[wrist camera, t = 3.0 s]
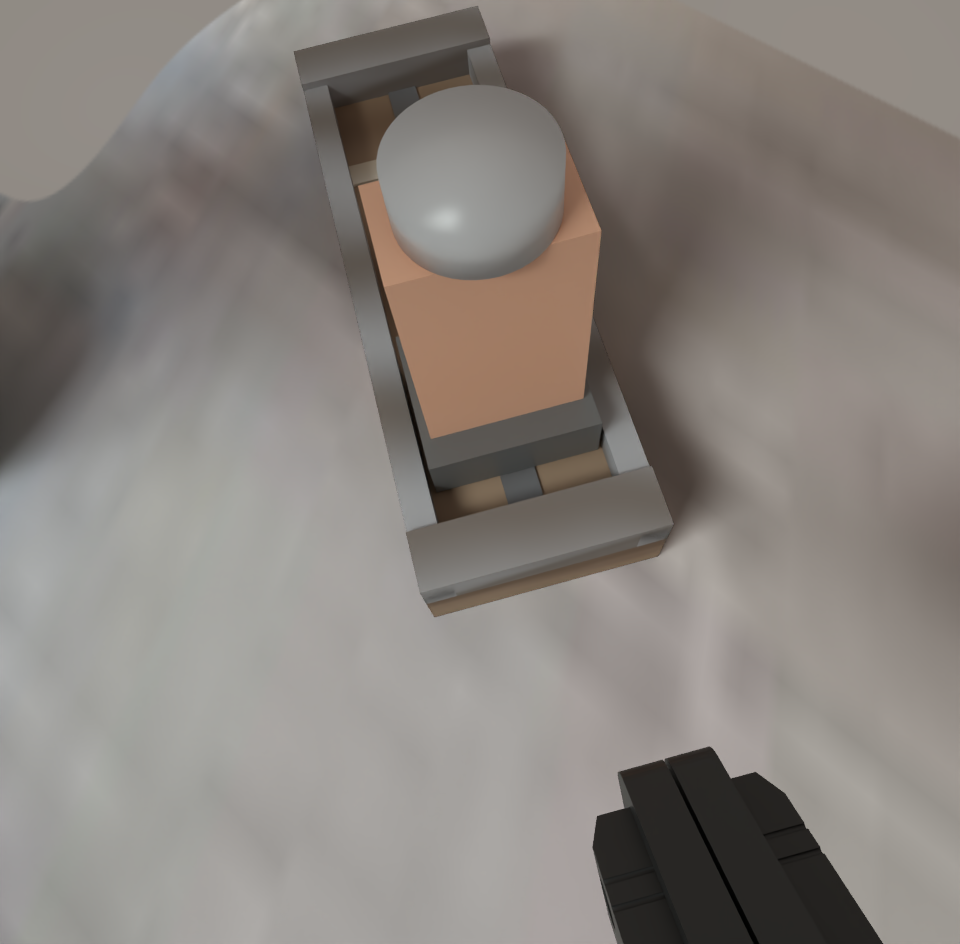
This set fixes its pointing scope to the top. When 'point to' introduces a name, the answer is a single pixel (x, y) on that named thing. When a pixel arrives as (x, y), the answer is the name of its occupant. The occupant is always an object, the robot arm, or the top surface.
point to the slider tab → (487, 280)
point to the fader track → (427, 514)
